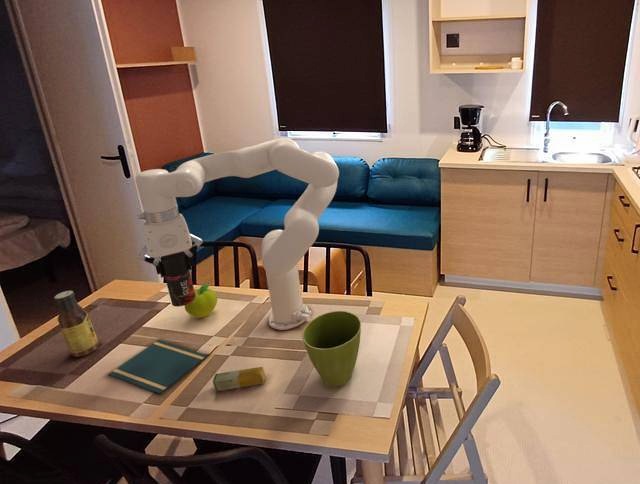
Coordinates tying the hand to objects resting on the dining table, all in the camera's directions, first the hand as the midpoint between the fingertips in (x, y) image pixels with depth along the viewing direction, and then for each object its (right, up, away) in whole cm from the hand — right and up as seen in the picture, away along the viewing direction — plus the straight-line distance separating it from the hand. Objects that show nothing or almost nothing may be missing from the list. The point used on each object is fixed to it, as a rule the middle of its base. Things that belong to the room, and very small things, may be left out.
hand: (176, 271), depth 112 cm
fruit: (-5, -20, +21) cm, 29 cm away
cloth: (-4, -27, -1) cm, 27 cm away
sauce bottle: (-31, -25, +5) cm, 40 cm away
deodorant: (0, -10, +3) cm, 10 cm away
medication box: (+23, -29, -7) cm, 38 cm away
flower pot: (+48, -28, -4) cm, 56 cm away
